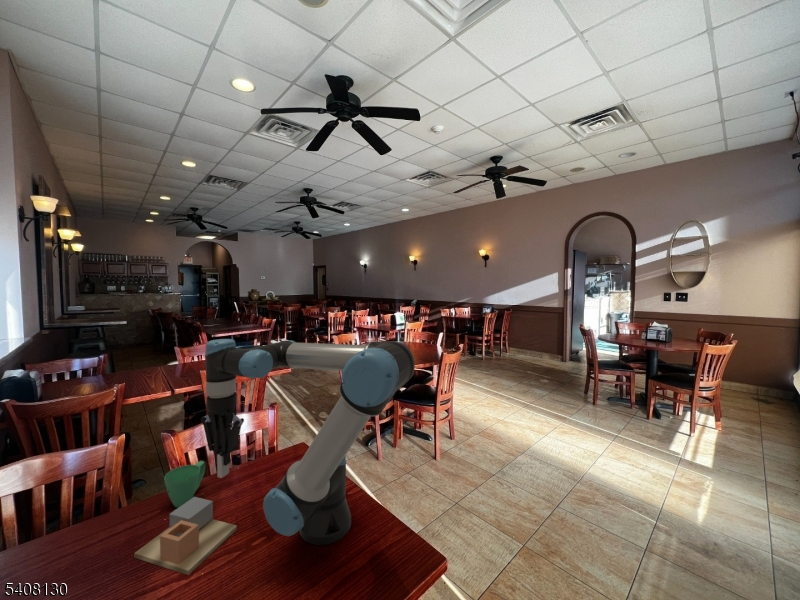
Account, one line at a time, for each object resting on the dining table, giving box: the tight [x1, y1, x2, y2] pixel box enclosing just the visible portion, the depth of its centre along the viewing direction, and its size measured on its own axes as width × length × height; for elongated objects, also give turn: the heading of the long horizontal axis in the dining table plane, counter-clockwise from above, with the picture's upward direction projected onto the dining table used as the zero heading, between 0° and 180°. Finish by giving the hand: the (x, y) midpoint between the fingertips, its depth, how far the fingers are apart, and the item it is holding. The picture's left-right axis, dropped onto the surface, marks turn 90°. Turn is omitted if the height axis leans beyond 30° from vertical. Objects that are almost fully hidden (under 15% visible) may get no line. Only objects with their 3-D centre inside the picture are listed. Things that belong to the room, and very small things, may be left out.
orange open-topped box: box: [160, 520, 199, 564], centre depth 87 cm, size 6×6×6 cm
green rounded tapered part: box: [163, 460, 207, 509], centre depth 110 cm, size 15×10×10 cm
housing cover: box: [169, 496, 214, 529], centre depth 96 cm, size 7×8×5 cm
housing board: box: [133, 518, 238, 576], centre depth 91 cm, size 18×16×6 cm
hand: (223, 474), depth 95 cm, fingers closed
